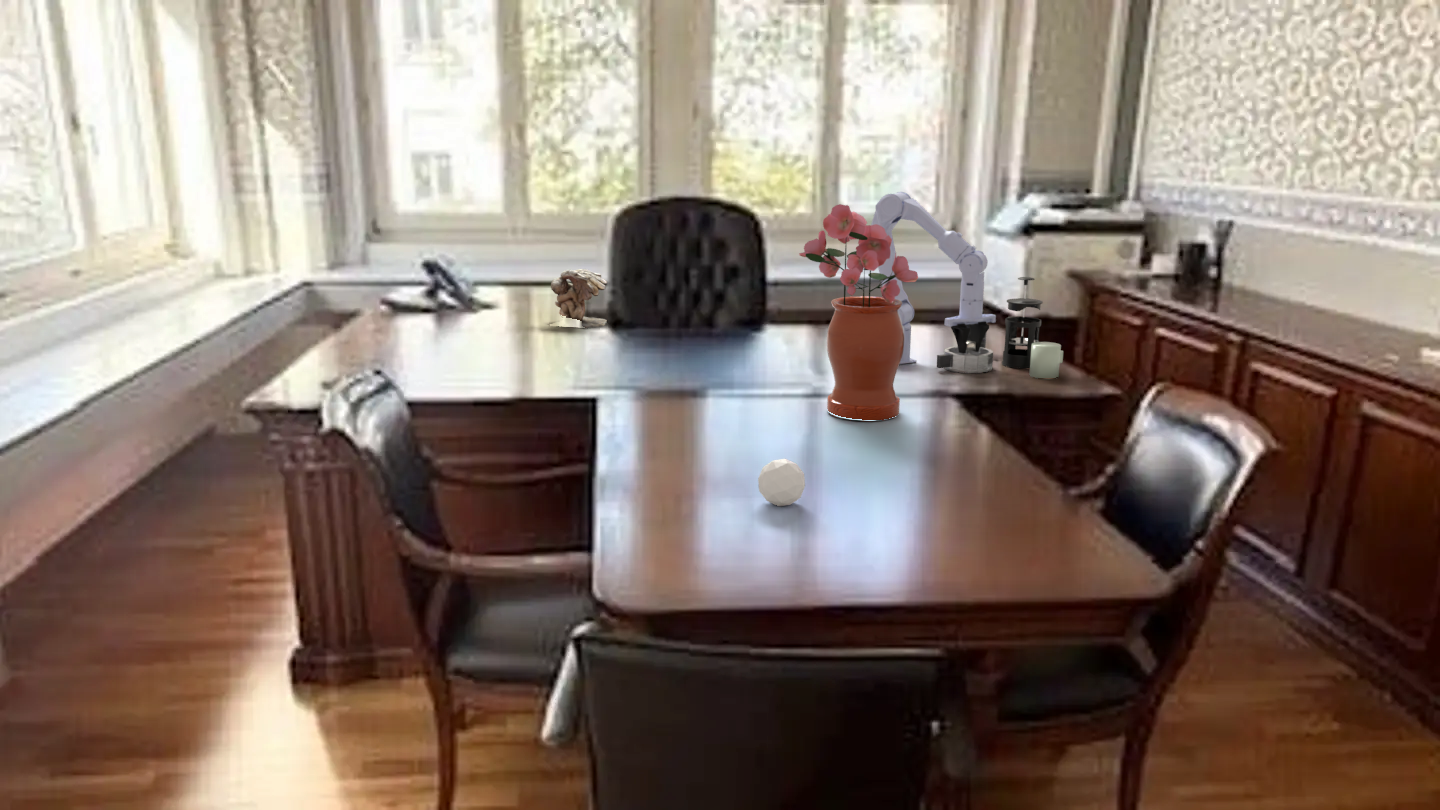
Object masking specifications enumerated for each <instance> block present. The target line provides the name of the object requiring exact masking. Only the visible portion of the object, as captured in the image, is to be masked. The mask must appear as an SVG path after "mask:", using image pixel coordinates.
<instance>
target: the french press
mask: <svg viewBox="0 0 1440 810" xmlns="http://www.w3.org/2000/svg"><path fill="white" fill-rule="evenodd" d="M1017 280H1019V281H1023V286H1024V295H1023V297H1020V298H1019V297H1017V298H1009V299H1007V300H1006V303H1008V304H1007V310H1008V311H1013V312H1021V311H1022V316H1008V317H1006V318H1005V320H1004V321H1005V323H1004V324H1005V332H1004V335H1005V338H1004V349H1003V351H1002V352H1003V353H1002V361H1001V365H1002V366H1004V367H1006V366H1007V368H1011V367H1012V369H1018V370H1019V369H1021V370H1024V369H1027V370H1028V369H1029V370H1030V359H1031V345H1032V343H1034V342H1040V341H1039V340H1040V327H1041V326H1042V319H1039V318H1037V317H1030V316H1025V312H1026V311H1025V310H1026V309H1027V308H1034V309H1038V310H1039V311H1041V307H1042V306H1041V305H1042V304H1043V303H1044V302H1043V300H1040V299H1035V298H1034V299H1033V298H1028V297H1027V296H1026V294H1027V286H1028V285H1029V281H1034V280H1035V278H1034V277H1030V276H1021V277H1017ZM1018 328H1020V329H1021V336H1020V337H1017V335H1018V334H1017V332H1018V331H1017V330H1018ZM1024 329H1028V333H1027V337H1024ZM1018 346H1019V347H1027V348H1016V347H1018Z"/></svg>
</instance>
